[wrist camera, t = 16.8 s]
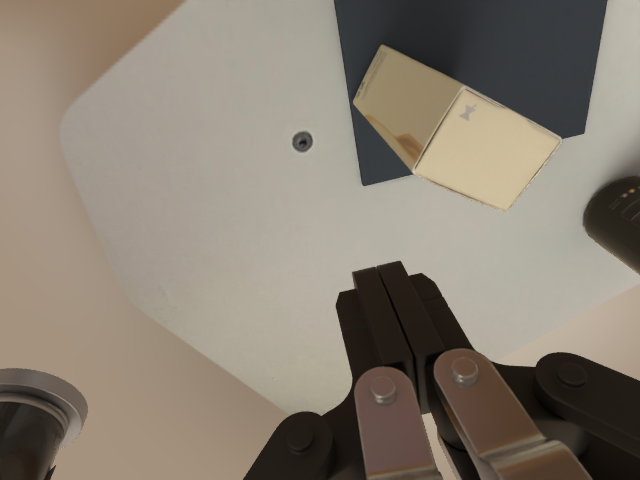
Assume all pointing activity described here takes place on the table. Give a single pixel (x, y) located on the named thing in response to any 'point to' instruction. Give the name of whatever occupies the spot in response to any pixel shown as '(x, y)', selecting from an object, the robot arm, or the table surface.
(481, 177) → the cosmetic box
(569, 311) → the table surface
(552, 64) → the mat
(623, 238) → the supplement bottle
